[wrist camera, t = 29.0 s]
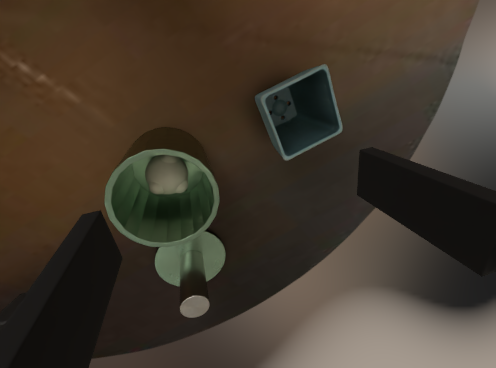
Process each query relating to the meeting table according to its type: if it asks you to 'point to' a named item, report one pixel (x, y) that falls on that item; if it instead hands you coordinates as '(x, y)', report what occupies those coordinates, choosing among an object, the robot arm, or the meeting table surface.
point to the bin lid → (192, 270)
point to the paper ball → (166, 175)
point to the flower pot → (300, 112)
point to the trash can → (162, 205)
